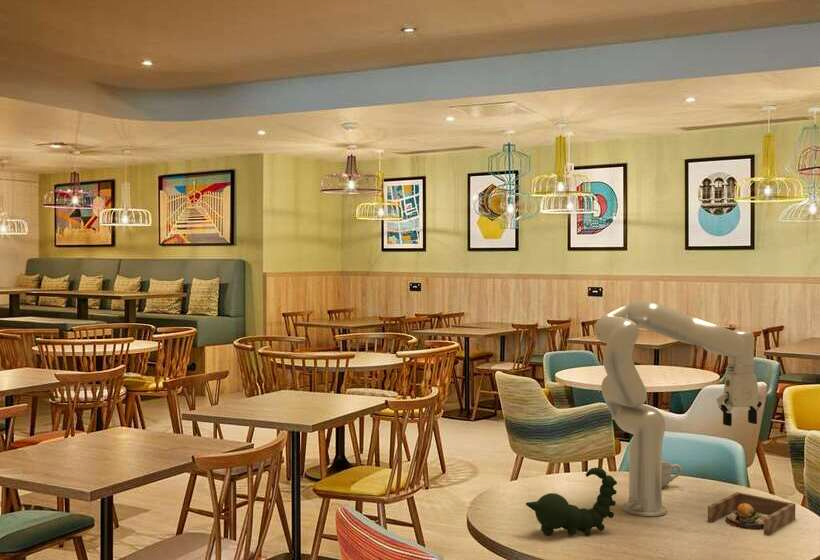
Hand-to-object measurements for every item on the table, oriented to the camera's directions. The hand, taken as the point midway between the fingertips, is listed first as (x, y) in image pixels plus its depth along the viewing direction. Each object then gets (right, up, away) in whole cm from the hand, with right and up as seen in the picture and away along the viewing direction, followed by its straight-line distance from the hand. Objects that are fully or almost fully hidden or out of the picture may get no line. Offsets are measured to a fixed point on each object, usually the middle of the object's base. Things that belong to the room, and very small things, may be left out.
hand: (739, 424), depth 267 cm
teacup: (-20, -24, +18) cm, 36 cm away
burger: (-6, -26, -21) cm, 33 cm away
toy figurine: (-59, -26, -30) cm, 71 cm away
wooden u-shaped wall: (-4, -25, -18) cm, 31 cm away
